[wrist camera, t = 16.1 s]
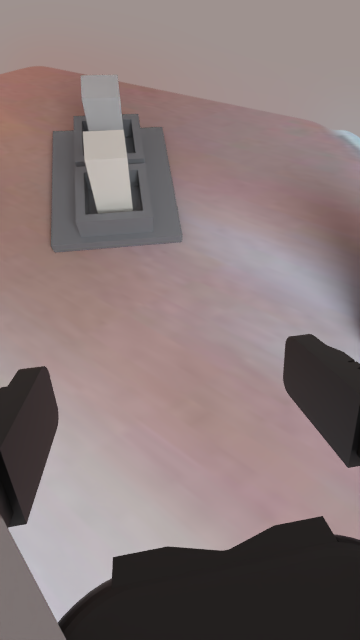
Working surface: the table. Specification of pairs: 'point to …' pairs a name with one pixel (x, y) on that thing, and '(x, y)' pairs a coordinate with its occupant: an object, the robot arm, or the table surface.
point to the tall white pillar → (108, 170)
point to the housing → (144, 172)
